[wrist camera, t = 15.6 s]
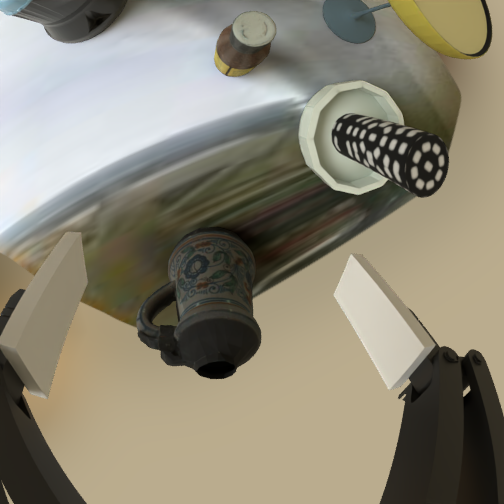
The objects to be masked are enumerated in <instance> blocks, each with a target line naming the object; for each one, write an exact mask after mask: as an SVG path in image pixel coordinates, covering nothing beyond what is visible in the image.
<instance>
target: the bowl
mask: <svg viewBox="0 0 504 504" xmlns="http://www.w3.org/2000/svg"><path fill="white" fill-rule="evenodd" d="M349 113H354V114H359V115H364V116H368V117H373V118H377V119H382V120H386V121H390V122H394V123H397V124H401V125H404V120H403V115H402V113H401V111H400V110H399V108H398V107H397V105H396V104H395V102H394V101H393V99H392V98H391V97H390V95H389V94H388V92H386V91H384V90H382V89H380V88H378V87H376V86H374V85H372V84H369V83H367V82H365V81H362V80H361V81H347V82H341V83H335V84H331V85H326V86H325V87H324V88H323V89H321V90H319V91H318V92H317V93H316V94H315V95H314V96H313V97H312V98H311V99H310V100H309V102H308V103H307V105H306V106H305V108H304V110H303V113H302V115H301V119H300V123H299V134H298V135H299V144H300V149H301V152H302V155H303V157H304V159H305V161H306V164H307V165H308V166H309V167H310V168H311V169H312V171H313V172H314V173H315V174H317V175H318V176H319V177H320V178H321V179H322V180H323V181H324V182H325V183H326V184H327V185H329V186H330V187H331V188H333V189H334V190H338V191H343V192H348V193H352V194H357V195H358V194H359V195H360V194H362V193H365V192H368V191H371V190H373V189H376V188H379V187H381V186H383V185H384V183H385V182H386V181H387V180H388V179H387V178H385V177H383V176H381V175H380V174H378V173H376V172H374V171H372V170H370V169H369V168H367V167H365V166H363V165H361V164H359V163H357V162H355V161H353V160H351V159H349V158H347V157H345V156H343V155H341V154H340V153H339V152H338V151H337V150H336V149H335V147H334V145H333V143H332V138H331V133H332V128H333V125H334V124H335V122H336V121H337V119H338V118H340V117H341V116H342V115H345V114H349Z"/></svg>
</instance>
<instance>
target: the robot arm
mask: <svg viewBox="0 0 504 504" xmlns="http://www.w3.org/2000/svg"><path fill="white" fill-rule="evenodd" d="M126 1H127V0H0V11H2V12H4V13H5V14H6V15H12V16H16V17H20V18H24V19H27V20H31V21H34V22H38V23H41V24H42V25H43V26H44V28H45V30H46V32H47V34H48V35H49V36H50V37H51V38H53V39H55V40H57V41H60V42H63V43H78V42H82V41H85V40H88V39H90V38H92V37H94V36H96V35H98V34H99V33H101V32H102V31H104V30H105V29H106V28H107V27H108V26H110V25H111V24H112V23H113V22H114V21H115V19H116V18H117V17H118V16H119V14H120V13H121V12H122V10H123V8H124V6H125V4H126ZM87 284H88V280H87V274H86V268H85V261H84V254H83V247H82V238H81V233H80V232H66V233H65V234H64V236H63V237H62V238H61V240H60V241H59V242H58V243H57V245H56V246H55V248H54V249H53V250H52V252H51V253H50V254H49V256H48V257H47V259H46V260H45V262H44V263H43V264H42V266H41V267H40V269H39V270H38V272H37V273H36V275H35V276H34V278H33V280H32V281H31V283H30V284H29V286H28V287H27V289H26V290H23V289H19V290H18V291H17V292H16V293H15V294H13V295H12V296H11V297H10V299H9V301H8V303H7V304H6V306H5V308H4V309H3V311H2V313H1V316H0V504H9V502H8V500H7V497H6V494H5V491H4V488H3V485H2V483H3V484H4V486H5V488H6V490H7V492H8V494H9V496H10V498H11V499H12V501H13V503H14V504H86V502H85V501H84V500H83V498H82V497H81V496H80V494H79V493H78V492H77V490H76V489H75V487H74V486H73V485H72V483H71V482H70V480H69V479H68V477H67V476H66V474H65V473H64V471H63V470H62V468H61V467H60V465H59V463H58V462H57V460H56V458H55V457H54V455H53V453H52V452H51V450H50V448H49V446H48V445H47V443H46V441H45V439H44V437H43V435H42V433H41V431H40V429H39V427H38V425H37V423H36V421H35V419H34V417H33V415H32V413H31V410H30V408H29V406H28V403H27V401H26V399H25V397H24V395H23V394H22V391H23V388H24V386H25V387H26V388H27V390H28V391H29V392H30V394H32V395H36V396H39V397H43V398H46V399H48V396H49V392H50V388H51V384H52V381H53V377H54V374H55V370H56V367H57V364H58V360H59V357H60V354H61V351H62V347H63V345H64V342H65V339H66V336H67V333H68V330H69V328H70V325H71V322H72V320H73V317H74V315H75V312H76V310H77V307H78V304H79V302H80V300H81V297H82V295H83V293H84V290H85V288H86V286H87ZM334 297H335V298H336V300H337V302H338V303H339V305H340V306H341V308H342V310H343V311H344V313H345V314H346V316H347V318H348V320H349V321H350V323H351V325H352V326H353V328H354V330H355V331H356V333H357V335H358V337H359V338H360V340H361V342H362V343H363V345H364V347H365V348H366V350H367V352H368V354H369V355H370V357H371V359H372V361H373V363H374V364H375V366H376V368H377V369H378V371H379V373H380V375H381V377H382V379H383V380H384V382H385V384H386V386H387V388H388V390H392V389H394V388H398V387H401V386H402V385H403V383H404V382H405V381H406V380H407V379H408V378H409V380H410V381H411V383H410V384H409V385H408V386H407V387H406V388H405V390H404V391H403V392H402V393H401V394H400V395H399V397H398V398H399V399H400V398H401V397H402V396H403V395H404V394H406V396H405V397H404V399H403V400H404V401H405V406H404V412H403V418H402V424H401V429H400V433H399V438H398V443H397V447H396V451H395V455H394V459H393V463H392V467H391V470H390V474H389V477H388V481H387V484H386V487H385V490H384V493H383V496H382V499H381V501H380V504H504V416H503V412H502V409H501V405H500V402H499V399H498V395H497V392H496V389H495V386H494V383H493V380H492V377H491V375H490V372H489V369H488V366H487V364H486V361H485V359H484V357H483V356H482V354H481V353H480V352H479V351H476V350H470V351H469V352H468V353H467V354H466V355H465V357H459V356H458V355H457V354H456V352H455V351H454V350H452V349H451V348H449V347H446V346H444V347H441V348H440V347H439V346H438V344H437V343H436V342H435V340H434V339H433V337H432V336H431V335H430V334H429V332H428V331H427V329H426V328H425V327H424V326H423V324H422V323H421V322H420V321H418V318H417V317H416V315H415V314H414V313H413V312H412V311H411V310H410V309H409V308H407V307H406V305H405V304H404V303H403V302H402V300H401V299H400V298H399V297H398V296H397V294H396V293H395V292H394V291H393V289H392V288H391V287H390V286H389V285H388V284H387V282H386V281H385V280H384V279H383V278H382V277H381V275H380V274H379V273H378V272H377V271H376V270H375V268H374V267H373V266H372V265H371V264H370V263H369V262H368V260H367V259H366V258H365V257H364V256H363V255H361V254H351V255H350V257H349V260H348V262H347V265H346V267H345V270H344V273H343V274H342V277H341V279H340V281H339V284H338V286H337V288H336V290H335V293H334ZM468 386H470V389H471V390H470V391H469V393H468V394H466V396H464V397H463V391H464V390H465V389H466V388H467V387H468ZM1 480H2V481H1Z"/></svg>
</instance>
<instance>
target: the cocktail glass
mask: <svg viewBox="0 0 504 504" xmlns="http://www.w3.org/2000/svg"><path fill="white" fill-rule="evenodd" d="M388 1H389V3H387V4H383V5H380V6H377V7H374V8H370V9H369V8H368V7H367V6H366V5H365V4H364V3H363V2H362V1H360V0H326V1H325V3H324V6H323V16H324V19H325V21H326V23H327V25H328V27H329V28H330V29H331V30H332V31H333V32H334V33H335V34H336V35H337V36H338V37H340V38H342V39H343V40H345V41H348V42H351V43H363V42H366V41H368V40H369V39H370V38H371V37H372V36H373V34H374V31H375V20H374V17H373V15H372V13H371V12H374V11H377V10H380V9H383V8H386V7H390V6H392V8H393V9H394V11H395V12H396V14H397V15H398V16H399V18H400V19H401V20H402V21H403V22H404V24H405V25H406V26H407V27H408V28H409V29H410V30H411V31H412V32H413V33H414V34H415V35H416V36H417V37H418V38H419V39H420V40H421V41H422V42H424V43H425V44H426V45H428V46H429V47H430V48H432V49H434V50H436V51H437V52H439V53H441V54H444V55H446V56H449V57H453V58H459V59H475V58H479V57H481V56H483V55H484V54H485V53H486V52H487V51H488V49H489V47H490V44H491V40H492V24H491V17H490V13H489V10H488V6H487V4H486V1H485V0H388Z"/></svg>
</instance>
